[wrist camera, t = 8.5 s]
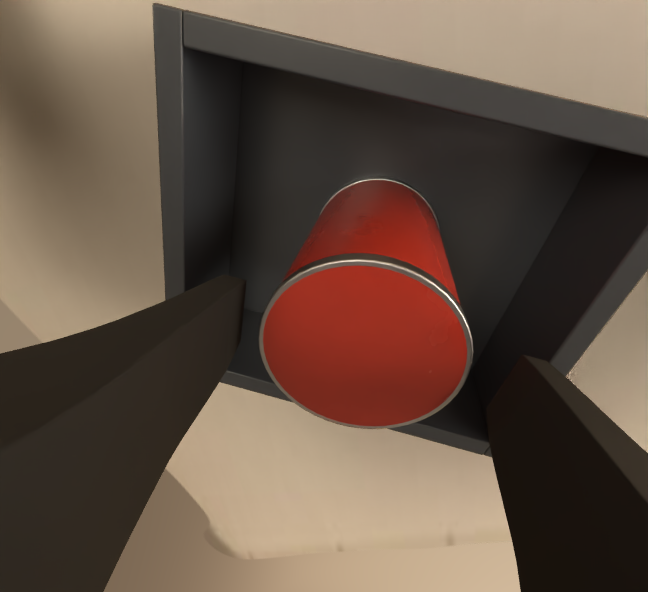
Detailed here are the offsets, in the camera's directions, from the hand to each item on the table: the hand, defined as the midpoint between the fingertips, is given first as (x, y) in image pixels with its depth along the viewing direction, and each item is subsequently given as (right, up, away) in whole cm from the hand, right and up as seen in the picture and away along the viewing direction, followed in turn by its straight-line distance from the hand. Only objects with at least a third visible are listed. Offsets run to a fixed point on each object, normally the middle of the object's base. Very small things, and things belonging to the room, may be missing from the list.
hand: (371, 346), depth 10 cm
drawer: (+1, +4, +7) cm, 8 cm away
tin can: (+1, +4, +6) cm, 7 cm away
